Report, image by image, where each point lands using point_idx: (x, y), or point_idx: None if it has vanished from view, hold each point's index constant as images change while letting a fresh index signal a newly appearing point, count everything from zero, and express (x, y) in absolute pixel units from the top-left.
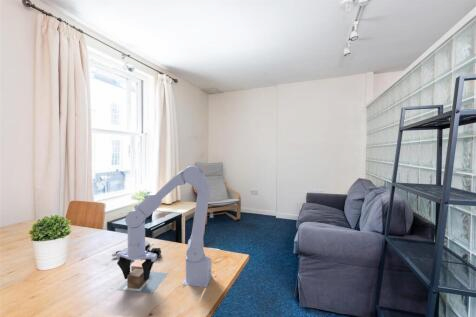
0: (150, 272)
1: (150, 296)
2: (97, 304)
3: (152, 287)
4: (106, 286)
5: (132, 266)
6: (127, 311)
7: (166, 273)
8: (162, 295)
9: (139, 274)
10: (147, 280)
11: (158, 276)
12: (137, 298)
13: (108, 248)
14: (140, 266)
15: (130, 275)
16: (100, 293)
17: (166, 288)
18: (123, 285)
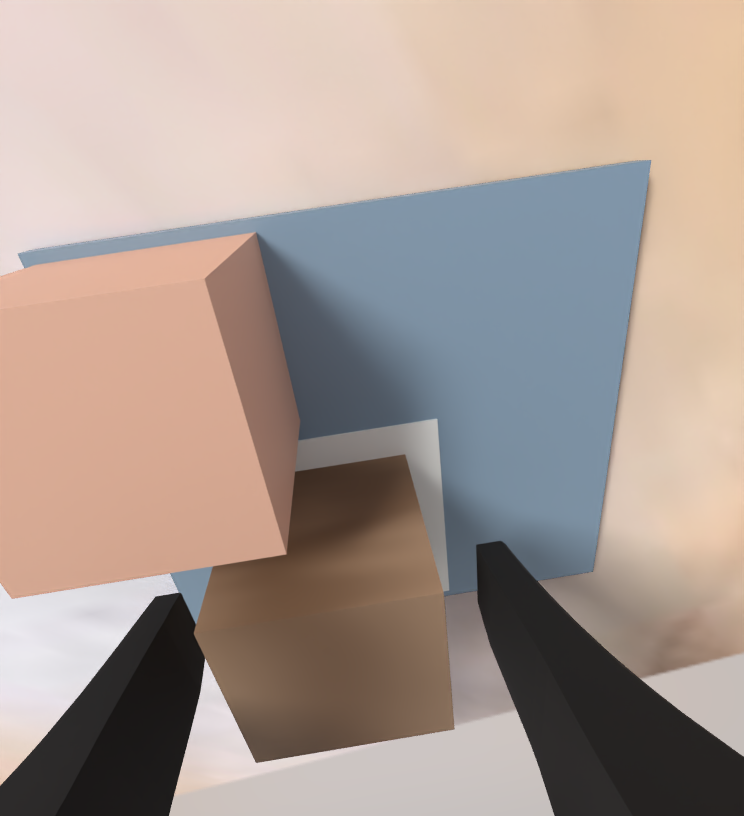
0: (304, 241)
1: (579, 579)
2: (208, 740)
3: (552, 513)
4: (3, 615)
5: (44, 586)
6: (487, 712)
7: (619, 179)
8: (690, 539)
9: (427, 705)
10: (409, 436)
11: (514, 303)
12: (473, 625)
13: None
14: (230, 551)
15: (305, 750)
16: (79, 681)
17: (703, 451)
18: (191, 583)
